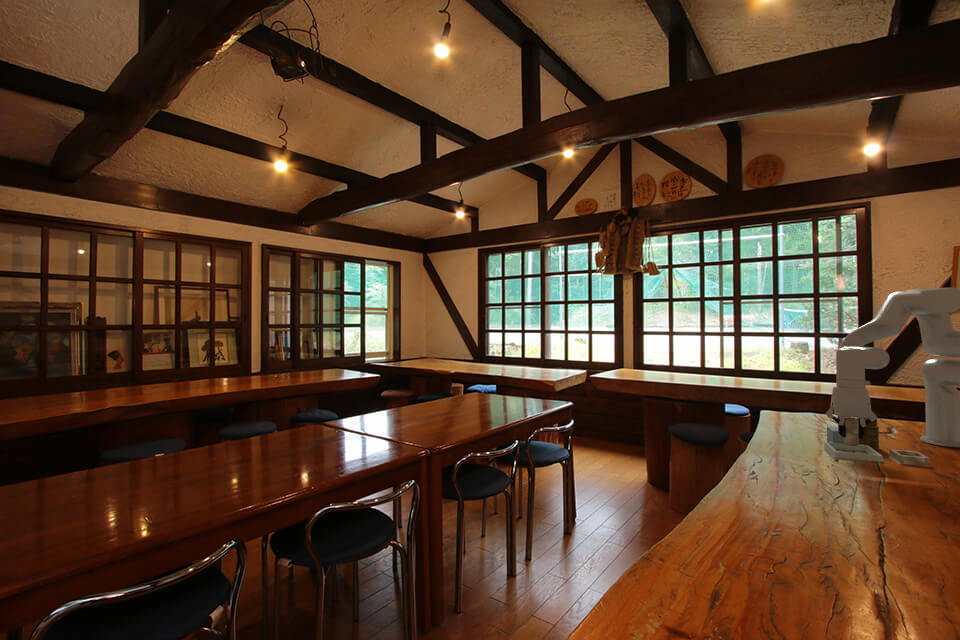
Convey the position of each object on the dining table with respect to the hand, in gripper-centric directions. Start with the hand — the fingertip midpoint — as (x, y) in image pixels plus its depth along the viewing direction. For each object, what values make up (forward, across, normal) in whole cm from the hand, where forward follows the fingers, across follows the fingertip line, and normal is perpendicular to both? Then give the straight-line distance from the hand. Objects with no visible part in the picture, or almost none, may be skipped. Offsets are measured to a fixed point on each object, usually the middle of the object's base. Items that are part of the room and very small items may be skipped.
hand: (851, 436), depth 149 cm
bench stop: (+7, +1, -11) cm, 13 cm away
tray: (+7, 0, 0) cm, 7 cm away
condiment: (+7, -8, -11) cm, 15 cm away
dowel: (+3, 0, 0) cm, 3 cm away
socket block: (+7, -14, +2) cm, 16 cm away
